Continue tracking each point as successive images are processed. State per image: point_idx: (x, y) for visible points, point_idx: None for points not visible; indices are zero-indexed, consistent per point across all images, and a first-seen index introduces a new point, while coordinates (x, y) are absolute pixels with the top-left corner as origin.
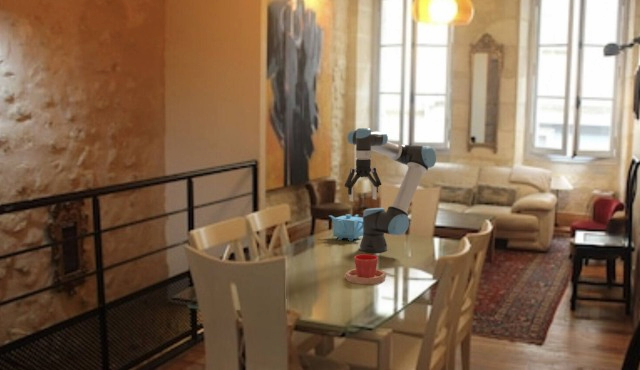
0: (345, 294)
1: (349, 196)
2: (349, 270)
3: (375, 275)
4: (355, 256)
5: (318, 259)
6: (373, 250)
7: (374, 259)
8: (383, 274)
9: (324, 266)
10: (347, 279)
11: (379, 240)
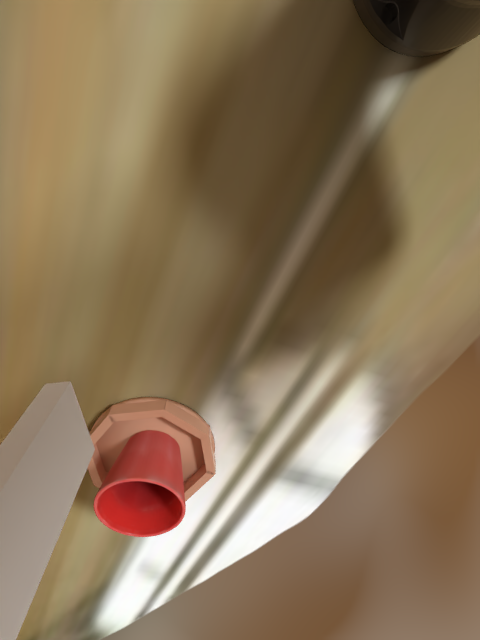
0: None
1: (7, 440)
2: (103, 422)
3: (191, 441)
4: (101, 493)
5: (25, 99)
6: (390, 44)
7: (160, 533)
8: (200, 484)
9: (39, 254)
10: None
11: (469, 18)
